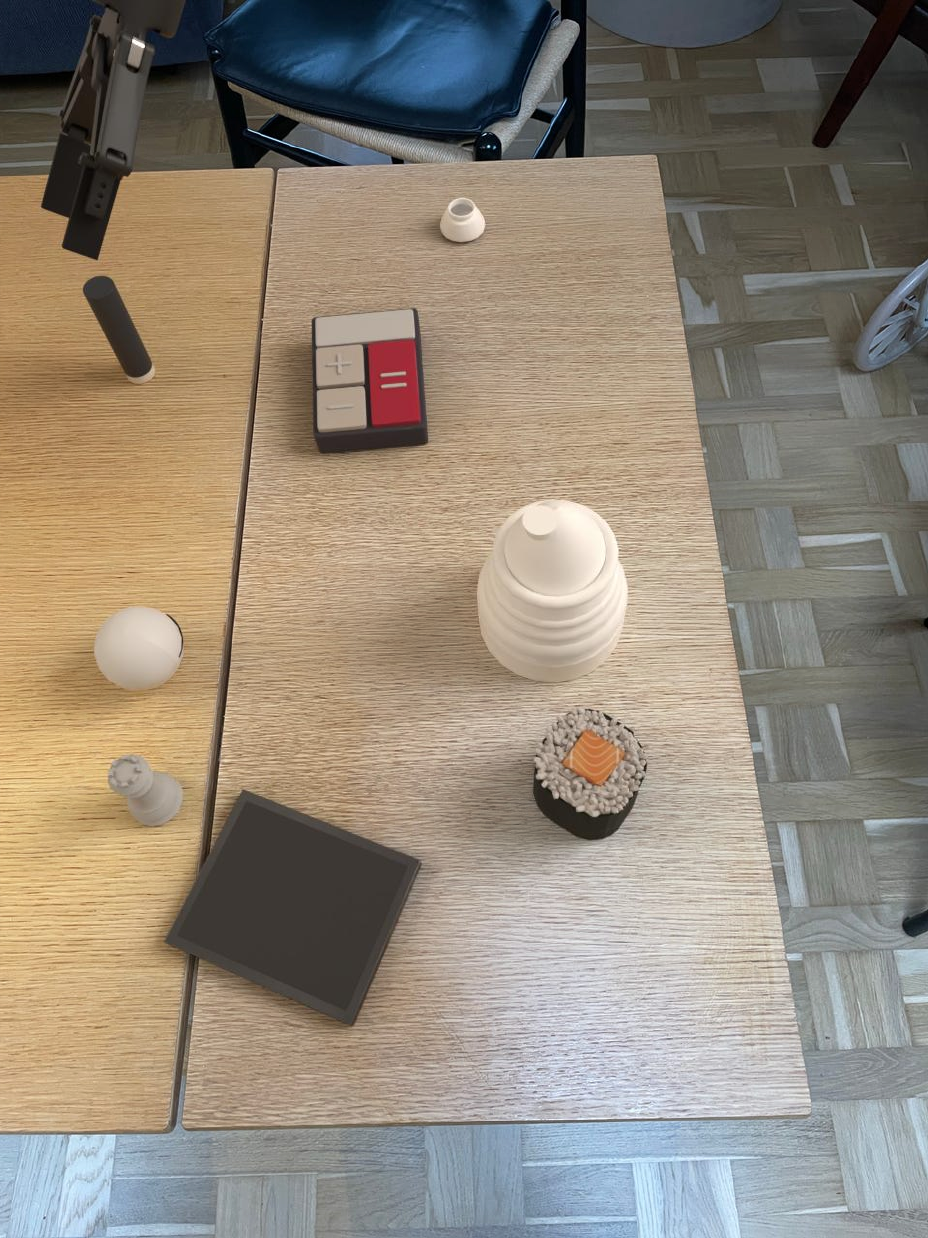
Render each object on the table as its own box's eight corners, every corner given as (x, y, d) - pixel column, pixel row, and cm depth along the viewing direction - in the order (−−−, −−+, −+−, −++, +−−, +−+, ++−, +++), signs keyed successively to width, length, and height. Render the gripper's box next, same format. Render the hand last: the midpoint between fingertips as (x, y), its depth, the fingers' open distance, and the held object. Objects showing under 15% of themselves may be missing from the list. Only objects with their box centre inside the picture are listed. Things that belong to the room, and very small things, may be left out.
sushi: (567, 724, 83) (572, 686, 76) (654, 777, 81) (667, 744, 74) (514, 801, 80) (514, 769, 73) (602, 858, 78) (611, 832, 71)
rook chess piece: (189, 776, 83) (158, 743, 75) (179, 828, 80) (147, 799, 73) (137, 775, 83) (101, 742, 76) (126, 827, 81) (89, 798, 74)
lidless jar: (436, 241, 110) (479, 247, 110) (434, 219, 108) (478, 225, 107) (446, 210, 112) (489, 216, 112) (445, 189, 110) (488, 194, 109)
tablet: (168, 944, 76) (162, 941, 75) (246, 793, 82) (242, 788, 80) (353, 1027, 73) (350, 1025, 72) (422, 863, 78) (420, 860, 77)
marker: (121, 379, 103) (76, 293, 92) (136, 359, 104) (93, 272, 94) (146, 387, 102) (103, 301, 92) (160, 366, 104) (120, 279, 93)
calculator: (311, 433, 94) (309, 311, 100) (319, 458, 98) (317, 339, 104) (425, 422, 94) (416, 301, 100) (429, 448, 98) (420, 330, 104)
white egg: (197, 695, 86) (171, 660, 79) (113, 711, 86) (80, 677, 79) (191, 597, 91) (166, 556, 84) (111, 612, 90) (79, 572, 84)
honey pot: (556, 711, 84) (566, 613, 68) (449, 620, 88) (433, 508, 72) (652, 612, 88) (682, 498, 72) (544, 530, 92) (550, 405, 76)
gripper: (228, 1, 69) (139, 289, 77) (155, -22, 87) (89, 213, 95) (121, -57, 65) (39, 255, 73) (67, -69, 83) (6, 182, 91)
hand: (67, 232), depth 84 cm, fingers open, 13 cm apart
